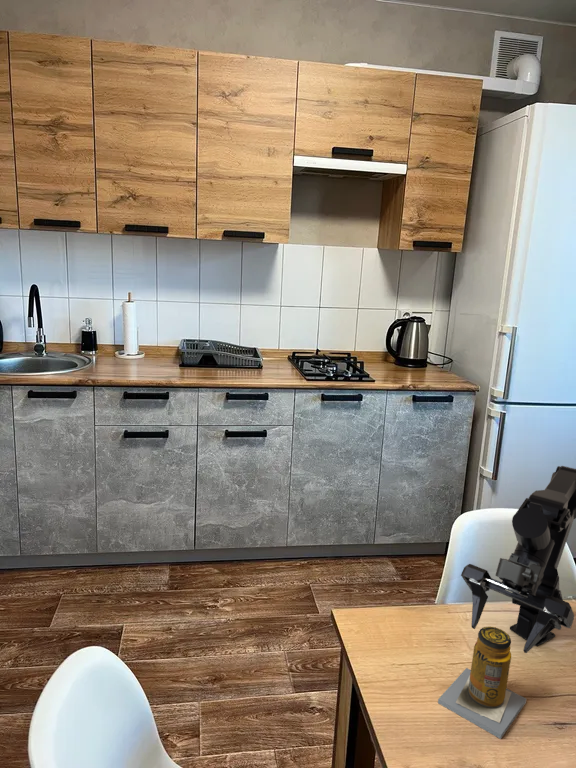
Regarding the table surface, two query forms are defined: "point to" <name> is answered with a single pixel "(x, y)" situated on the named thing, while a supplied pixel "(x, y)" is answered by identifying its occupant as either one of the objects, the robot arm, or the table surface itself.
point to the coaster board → (483, 722)
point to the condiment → (488, 675)
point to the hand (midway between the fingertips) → (498, 639)
